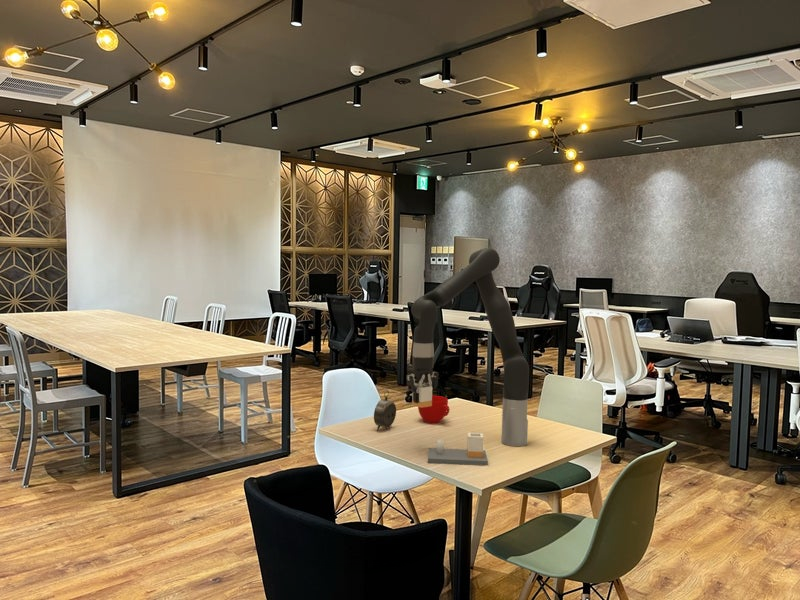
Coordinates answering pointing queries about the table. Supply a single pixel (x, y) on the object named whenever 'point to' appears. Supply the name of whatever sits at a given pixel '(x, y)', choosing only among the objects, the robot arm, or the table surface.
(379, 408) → the alarm clock
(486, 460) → the pin board
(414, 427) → the table surface
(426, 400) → the sleeve
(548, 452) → the table surface
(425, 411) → the ceramic cup
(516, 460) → the table surface
